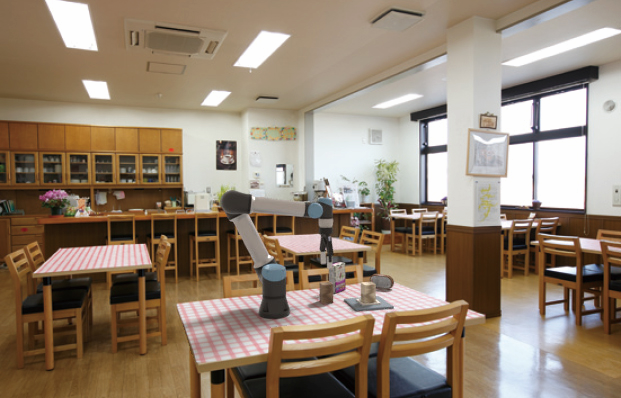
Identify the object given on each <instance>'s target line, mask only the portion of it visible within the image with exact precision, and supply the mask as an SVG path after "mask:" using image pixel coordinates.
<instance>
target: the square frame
mask: <svg viewBox="0 0 621 398" xmlns="http://www.w3.org/2000/svg"><path fill="white" fill-rule="evenodd" d="M356 301H357V302H358V303H360V304H361V305H362V306H365V305H378V304H381V303H380V302H379V301H378V300H376V303H362V302H361V299H356Z"/></svg>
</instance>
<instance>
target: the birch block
mask: <svg viewBox="0 0 621 398" xmlns="http://www.w3.org/2000/svg"><path fill="white" fill-rule="evenodd" d="M376 291H377V288H376V284H374V283H372V282H370V281H364V282H360V297H361V302H362V303H376V296H377V295H376V294H377V293H376Z"/></svg>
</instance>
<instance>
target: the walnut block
mask: <svg viewBox="0 0 621 398" xmlns="http://www.w3.org/2000/svg"><path fill="white" fill-rule="evenodd" d="M319 302H320V303H321V304H322V305H323V304H324V305H325V304H334V293H333V284H332V283H331V282H329V281H325V282H324V281H321V282H319Z"/></svg>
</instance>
